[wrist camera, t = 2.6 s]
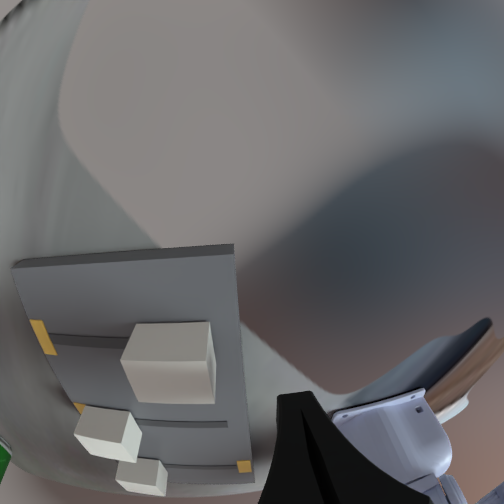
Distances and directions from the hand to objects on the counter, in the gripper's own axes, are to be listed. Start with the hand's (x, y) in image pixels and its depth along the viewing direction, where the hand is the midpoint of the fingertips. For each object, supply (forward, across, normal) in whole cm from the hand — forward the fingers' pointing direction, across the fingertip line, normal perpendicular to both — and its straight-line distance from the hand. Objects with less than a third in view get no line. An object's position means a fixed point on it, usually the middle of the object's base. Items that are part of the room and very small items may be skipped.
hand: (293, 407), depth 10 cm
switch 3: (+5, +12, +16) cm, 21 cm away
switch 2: (+5, +12, +8) cm, 16 cm away
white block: (+5, +5, 0) cm, 7 cm away
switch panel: (+6, +9, +8) cm, 14 cm away
